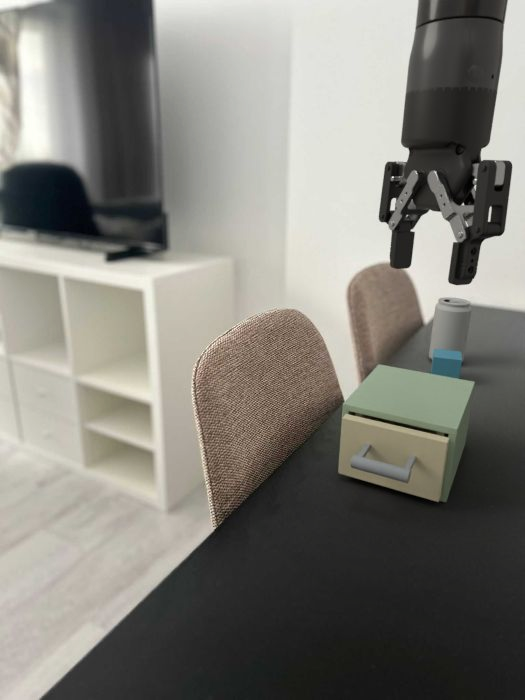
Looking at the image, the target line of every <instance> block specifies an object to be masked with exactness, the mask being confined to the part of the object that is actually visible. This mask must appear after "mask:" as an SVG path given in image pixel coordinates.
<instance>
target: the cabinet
mask: <svg viewBox="0 0 525 700" xmlns="http://www.w3.org/2000/svg"><path fill="white" fill-rule="evenodd" d="M475 385H476V381H473V380H469V379H468V380H467V379H461V378H459V379H457V378H451V377H446V376H440V375H435V374H431V373H429V372H423V371H418V370H413V369H406V368H403V367H402V368H401V367H395V366H392V365H385V364H377V365H376V367H374V369H372V370H371V372H370V373H369V374H368V375H367V376H366V377H365V379H364V380H363V381H362V382H361V383H360V384H359V385H358V386H357V388H356V389H355V390H354V391H353V392H352V393H351V394H350V395H349V396H348V397H347V398H346V400H345V401H344V402H343V403H342V411H341V419H342V418H343V416H344V415H345V414H349V415H353V416H355V413H359V414H364V415H368V416H372V417H377V418H381V419H386V420H390V421H394V422H399V423H403V424H407V425H412V426H416V427H420V428H425V429H429V430H433V431H438V432H442V433H446V434H449V435H448V438H449V444H448V451H447V458H446V464H445V471H444V478H443V484H442V491H441V497H440V500H439V502H443V503H448V498H449V496H450V491H451V489H452V486H453V483H454V480H455V476H456V475H457V474H456V473H457V470H458V467H459V464H460V461H461V458H462V455H463V452H464V449H465V446H466V441H467V435H468V429H469V422H470V416H471V410H472V404H473V398H474V393H475ZM341 430H342V423H341V427H340V431H341ZM340 444H341V438H340V440H339V445H340ZM339 458H340V452H339V455H338V459H339ZM337 468H338V469H337V472H338V473H339V465H338V467H337Z"/></svg>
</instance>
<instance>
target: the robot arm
mask: <svg viewBox="0 0 525 700" xmlns="http://www.w3.org/2000/svg"><path fill="white" fill-rule="evenodd" d="M508 3H509V0H417V9H416V16H415V17H416V18H415V27H414V33H413V34H414V35H413V41H412V46H411V50H410V54H409V59H408V66H407V76H406V87H405V96H404V107H403V116H402V126H401V137H400V143H401V145H402V147H403V148H405V149H408V157H407V160H406V161H397V160H395V161H387V162H386V163H385V165H384V170H383V178H382V186H381V194H380V203H379V211H378V221H379V222H380V223H385V224H387V226H388V229H389V230H390V231H391V237H390V248H389V250H390V251H389V266H390V268H392V269H395V270H403V269H409V268H410V267H411V266H412V260H413V253H414V252H413V251H414V246H415V245H414V243H415V235H416V231H412V230H414V228H415V227H416V225H417V224H418V223H419V221H420V219H421V218H422V216H425V214H428V213H429V212H430V211H432V212H437V213H438V212H439V213H441V215H442V216H441V217H442V218H443V219H444V220H445V221H446V222H448V223H449V225H450V228H451V232H452V233H453V236H454V239H455V241H453V242H452V249H451V256H450V263H449V271H448V278H447V282H448V283H449V284H451V285H454V286H465V285H470V284H471V283H472V282H473V280H474V279H475V278H476V276H477V272H478V266H479V260H480V259H479V258H480V254H481V248H482V244H483V242H484V241H485V240H487V239H491V238H495V237H501V236H502V235H503V234H504V233H505V230H506V223H507V215H508V208H509V200H510V191H511V182H512V175H513V163H512V161H510V160H507V159H505V160H503V159H482V149H484V148H486V147H488V145H489V144H490V142H491V137H492V130H493V122H494V117H495V110H496V105H497V104H496V103H497V96H498V91H499V83H500V76H501V70H502V63H503V56H504V54H503V53H504V29H505V22H506V16H507V9H508ZM393 199H395V202H394V209H393V210H392V209H391V208H392V207H391V206H392V200H393ZM490 208H491V211H490ZM489 215H490V219H489Z"/></svg>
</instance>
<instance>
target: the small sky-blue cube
mask: <svg viewBox="0 0 525 700" xmlns="http://www.w3.org/2000/svg"><path fill="white" fill-rule="evenodd" d="M462 364H463V362H462V354H461V352H460V351H451V350H441V349H434V352H433V360H432V359H431V369H430V374H435V375H440V376H446V377H451V378H457V379H461V370H462V366H463V365H462Z"/></svg>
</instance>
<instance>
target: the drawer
mask: <svg viewBox="0 0 525 700" xmlns="http://www.w3.org/2000/svg"><path fill="white" fill-rule="evenodd" d="M341 424H342V430H341V429H340V439H341V444H340V443H339V453H340V458H339V457H338V466H339V472H338V474H339V475H343V476H347V477H349V478H353V479H357V480H360V481H364V482H367V483H370V484H374V485H378V486H381V487H385V488H388V489H392V490H395V491H398V492H401V493H405V494H408V495H412V496H416V497H419V498H423V499H426V500H430V501H433V502H437V503H439V502H440V501H439V500H440V497H441V491H442V484H443V478H444V471H445V464H446V458H447V451H448V444H449V438H448V435H449V434H446V433H442V432H438V431H433V430H429V429H425V428H420V427H416V426H412V425H407V424H403V423H399V422H394V421H390V420H386V419H381V418H377V417H372V416H368V415H364V414H359V413H355V416H353V415H349V414H345V415H344V416H343V418H342V417H341Z"/></svg>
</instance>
